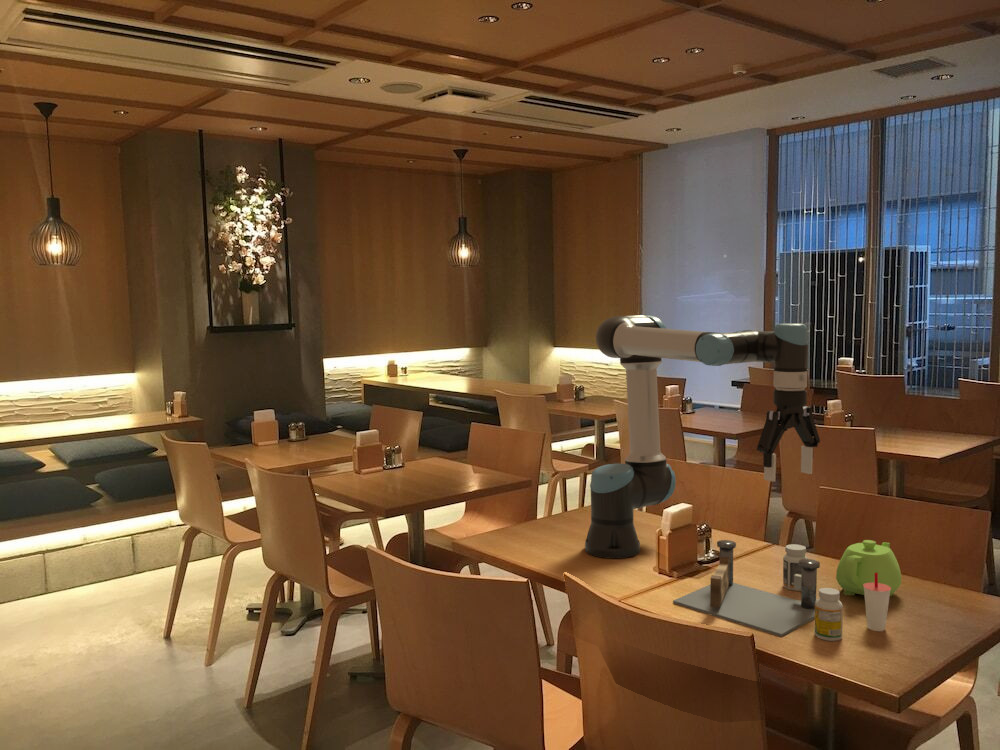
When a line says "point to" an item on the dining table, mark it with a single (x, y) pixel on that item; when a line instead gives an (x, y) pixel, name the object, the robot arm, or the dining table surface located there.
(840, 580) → the teapot
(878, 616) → the cup
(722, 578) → the wooden block
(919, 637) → the dining table surface
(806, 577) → the post
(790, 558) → the pill bottle
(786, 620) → the base board
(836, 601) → the supplement bottle
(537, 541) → the dining table surface
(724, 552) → the hinge post
